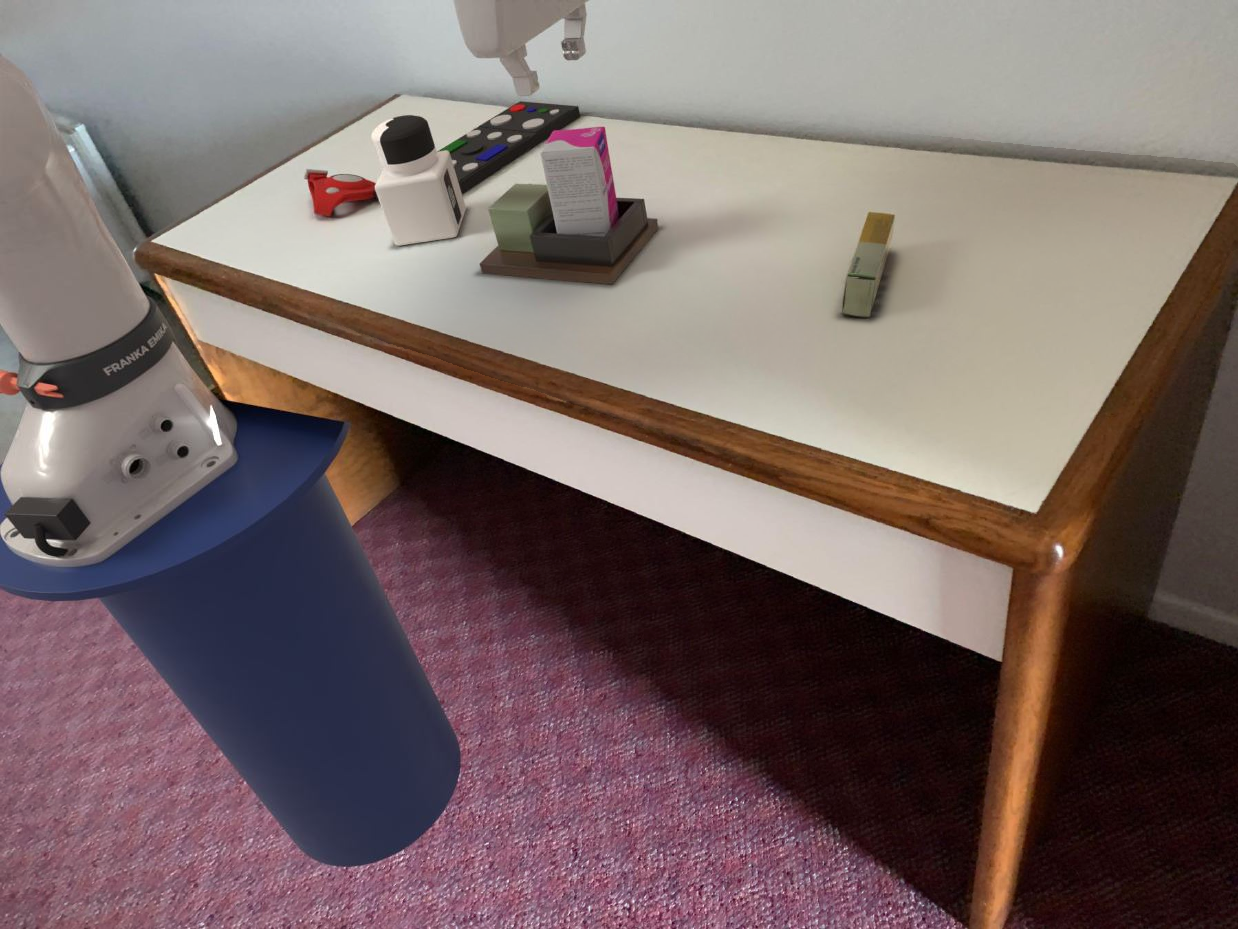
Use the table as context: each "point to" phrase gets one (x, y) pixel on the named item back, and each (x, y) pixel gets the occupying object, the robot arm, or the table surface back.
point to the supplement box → (580, 181)
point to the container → (416, 182)
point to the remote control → (505, 139)
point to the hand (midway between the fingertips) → (552, 75)
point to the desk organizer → (561, 240)
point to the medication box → (867, 265)
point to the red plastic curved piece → (336, 189)
